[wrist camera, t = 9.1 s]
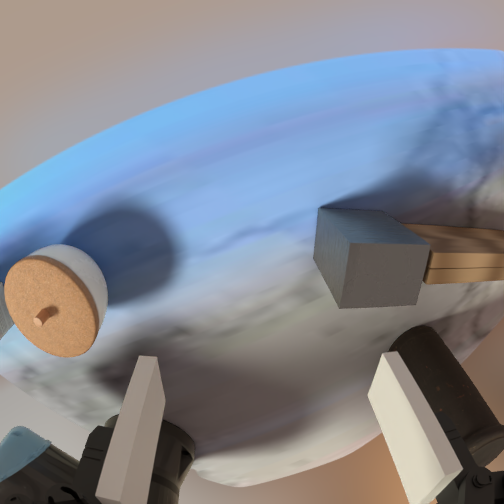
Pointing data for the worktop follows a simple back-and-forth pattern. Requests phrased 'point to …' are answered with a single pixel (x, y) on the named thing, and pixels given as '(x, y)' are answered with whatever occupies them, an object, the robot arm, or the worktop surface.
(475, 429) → the container
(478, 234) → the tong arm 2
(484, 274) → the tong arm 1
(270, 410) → the worktop surface
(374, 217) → the grey angled block
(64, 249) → the lidded jar
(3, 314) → the skincare box
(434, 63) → the worktop surface
